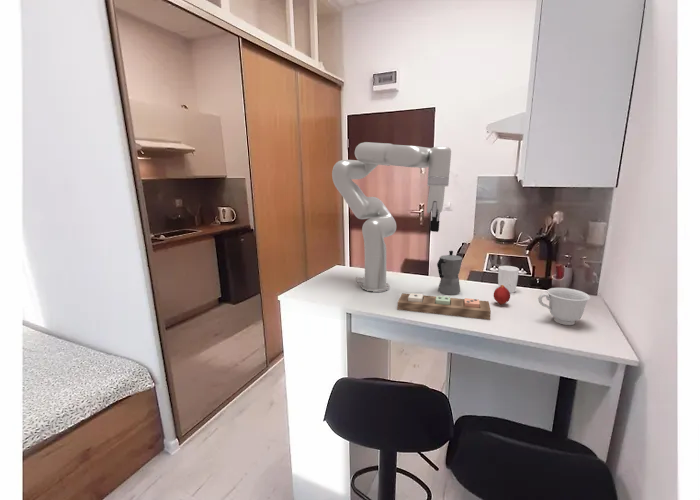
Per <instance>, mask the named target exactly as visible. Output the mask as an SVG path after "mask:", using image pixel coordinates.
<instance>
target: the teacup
mask: <svg viewBox="0 0 700 500" xmlns="http://www.w3.org/2000/svg"><path fill="white" fill-rule="evenodd" d="M543 298H546V301H548V304H549V305H548V304H545V303H544V302H543ZM537 299H538V303H539V304H540V305H541V306H542V307H545V308H547V309H548V311H549V313H550V314H551V316H552V317H554V319H553V320H554V322H556V323H557V324H560V325H563V326H572V325H575V324H576V323H575V322H576V321H579V320H580V319H581V318H582V316H583V314H584V312H585V308H586V305H587V303H588V301H589V300H591V295H589V294H588V293H586V292H584V291H581V290H578V289H574V288H568V287H551V288H549V289H547V290H546V292H543V293H542V292H541V293H540V294H539V295H538V298H537Z"/></svg>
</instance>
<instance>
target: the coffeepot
mask: <svg viewBox="0 0 700 500" xmlns="http://www.w3.org/2000/svg"><path fill="white" fill-rule="evenodd" d="M448 253H449V254H445V255H441V256H440V257H439V259H438V261H437V264H436V266H437V271H438V275H439V278H440V281H439V285H438V290H437V291H438V292H439V293H440V294H441V295H442V294H443V295H445V296H456V295H459V294H460V293H461V285H460V278H459V274H460V273H461V272H460V271H461V266H462V262H463V257H462V256H461V255H455V254H454V251H453V250H449V252H448Z"/></svg>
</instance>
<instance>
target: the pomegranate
mask: <svg viewBox="0 0 700 500" xmlns="http://www.w3.org/2000/svg"><path fill="white" fill-rule="evenodd" d="M493 299H494V300H495V301H496V303H498V304H499V305H500V306H503V305H505V304H506V303H508V302H509V301H510V299H511V293H510V292H509V291H508V289H507V288H505V287H504V285H500V287H497V288H496V289H495V290H494V291H493Z"/></svg>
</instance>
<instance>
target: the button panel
mask: <svg viewBox="0 0 700 500" xmlns="http://www.w3.org/2000/svg"><path fill="white" fill-rule="evenodd" d="M409 295H410V293H401V295H400V296H399V299H398V301H397V311H406V312H408V311H409V312H415V313H423V314H424V313H426V314H434V315H443V316H451V317H453V316H454V317H462V318H471V319H481V320H489V321H490V320H491V315H492V314H491V313H492V311H491V306H490V302H489V300H480V299H479V303H480V307H479V308H473V307H464V299H465V298H456V297H450V305H443V304H436V296H437V295H436V296H434V295H424V294H423V302H413V301H408V297H409Z"/></svg>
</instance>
